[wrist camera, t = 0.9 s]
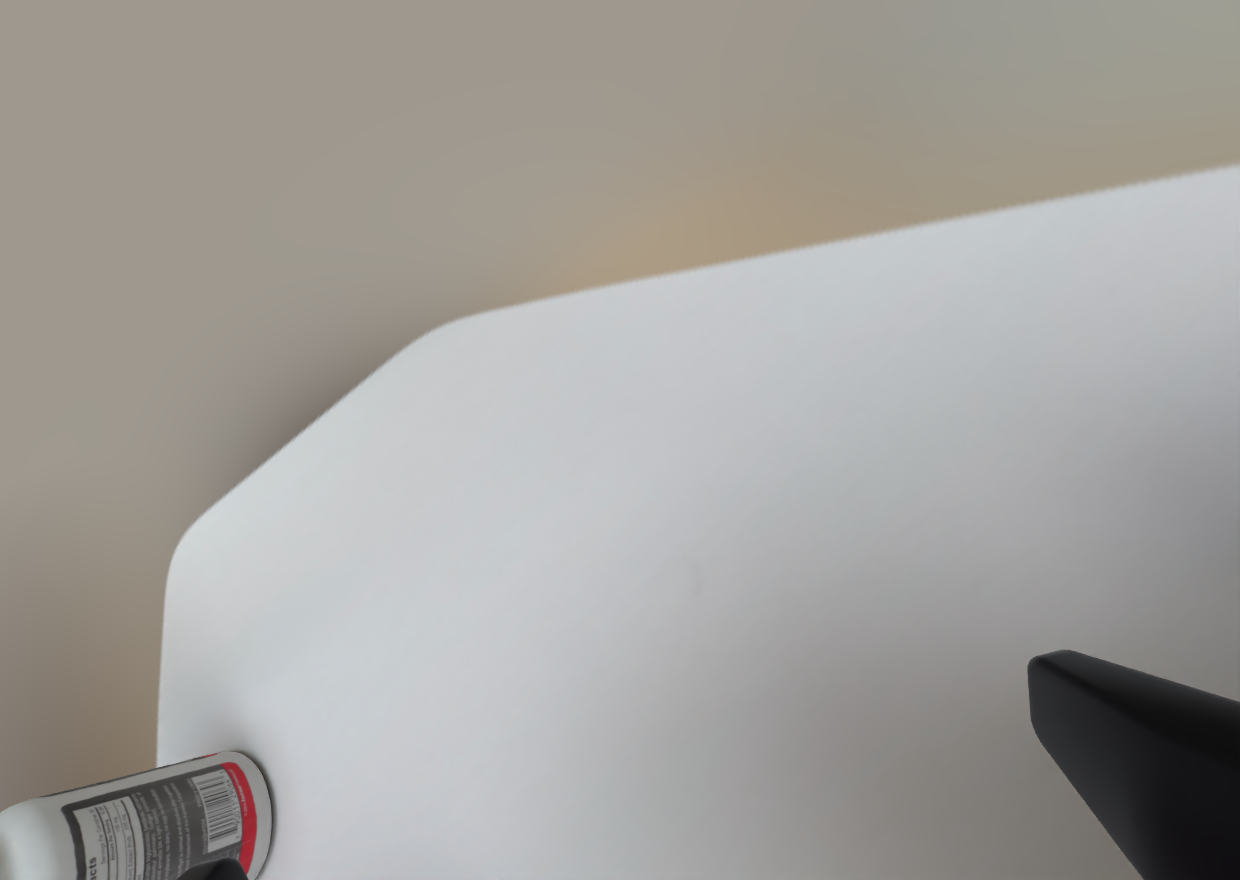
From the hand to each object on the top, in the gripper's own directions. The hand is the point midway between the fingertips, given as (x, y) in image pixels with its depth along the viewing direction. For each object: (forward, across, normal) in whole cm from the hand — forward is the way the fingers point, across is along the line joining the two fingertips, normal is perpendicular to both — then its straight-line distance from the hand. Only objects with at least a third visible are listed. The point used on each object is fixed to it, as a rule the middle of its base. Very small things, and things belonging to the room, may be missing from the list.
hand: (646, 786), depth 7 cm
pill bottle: (+17, +18, +12) cm, 27 cm away
